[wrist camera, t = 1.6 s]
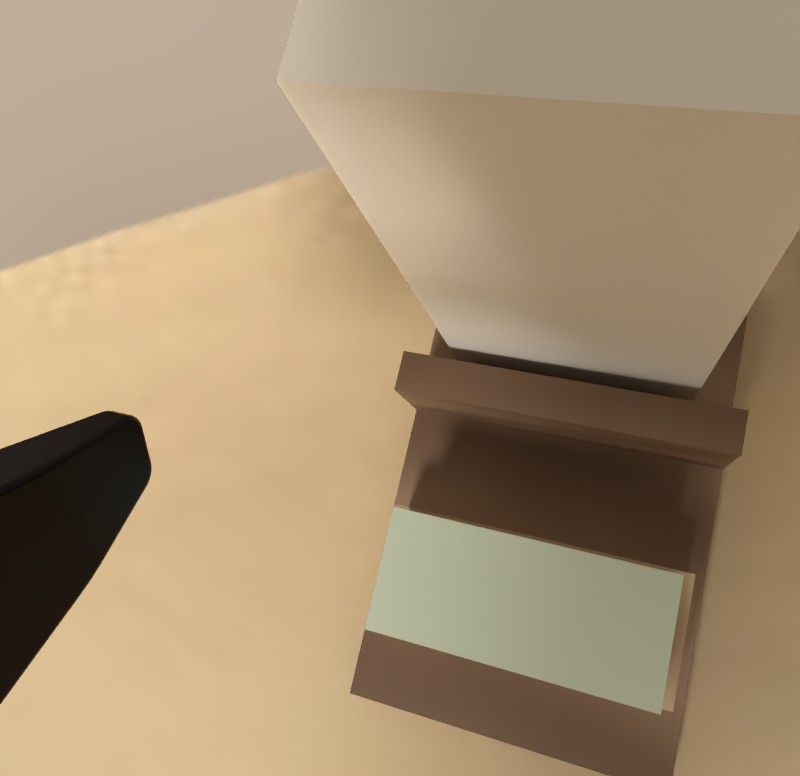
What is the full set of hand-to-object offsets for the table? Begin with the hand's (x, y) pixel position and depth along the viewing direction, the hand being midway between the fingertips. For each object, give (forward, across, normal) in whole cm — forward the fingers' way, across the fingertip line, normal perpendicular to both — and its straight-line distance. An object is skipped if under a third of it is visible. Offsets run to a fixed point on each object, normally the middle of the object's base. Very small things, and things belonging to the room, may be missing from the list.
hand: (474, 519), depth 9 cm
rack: (+10, 0, +8) cm, 12 cm away
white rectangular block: (+12, 0, +4) cm, 13 cm away
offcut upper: (+6, 0, +8) cm, 10 cm away
